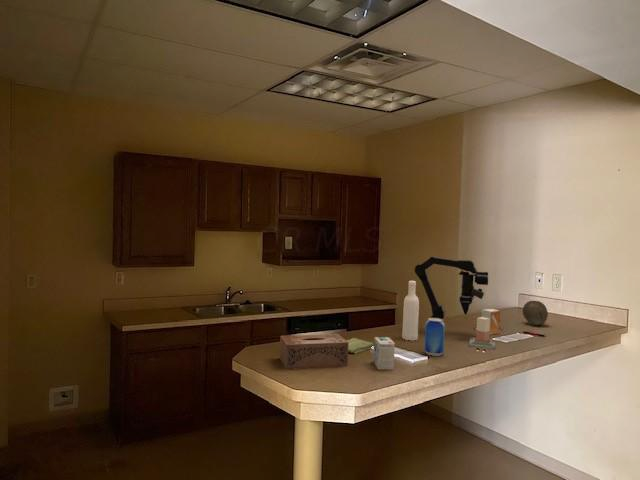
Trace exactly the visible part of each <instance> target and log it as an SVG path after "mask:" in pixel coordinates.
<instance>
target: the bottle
mask: <svg viewBox="0 0 640 480" xmlns="http://www.w3.org/2000/svg"><path fill="white" fill-rule="evenodd" d="M407 285H408V289H407V290H408V293H407V295H406V296H405V297H404V300H403V312H402V313H403V315H402V333H401V336H402V338H401V339H402V340H404V339H405V341H408V340H410V341H409V342H415V340H416V341H418V338H419V337H418V336H419V312H420V309H419V308H420V300H419V297H418V296H417V294H416V287H417V281H415V280H409V281H408V284H407Z"/></svg>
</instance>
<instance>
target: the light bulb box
mask: <svg viewBox="0 0 640 480" xmlns="http://www.w3.org/2000/svg"><path fill="white" fill-rule="evenodd" d="M373 344H374V346H373V359H372V360H373V361H372V362H373V363H374V365H375V367H376V368H377V370H385V369H386V370H394V369H395V367H394V366H395V348H396V347H395V346H396V344H395V342H394V341H393V340H392V339H391V337H388V336H385V337H383V336H380V337H379V336H375V337H374V340H373ZM386 370H385V371H386Z"/></svg>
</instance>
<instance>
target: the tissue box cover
mask: <svg viewBox="0 0 640 480" xmlns="http://www.w3.org/2000/svg"><path fill="white" fill-rule="evenodd" d="M279 339H280V340H279V341H280V342H279V359H280V361H281V363H282V365H283V364H284V365H283V367H284V368H285V369H286V370H291V369H290V368H297V369H311V368H310V367H316V368H331V367H333V368H335V367H348V366H349V364H348V363H349V362H348V361H349V352H348V342H347V341H346V339H345V338H343V337H342V336H341V334H339V333H329V334H327V333H326V334H325V333H324V334H295V335H294V334H292V335H280V337H279Z"/></svg>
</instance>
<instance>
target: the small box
mask: <svg viewBox="0 0 640 480" xmlns="http://www.w3.org/2000/svg"><path fill="white" fill-rule="evenodd" d="M500 315H501V311H500V310H498V309H492V308H488V309H487V308H486V309H481V316H480V317H485V318H490V326H489V336H491V335H498V334H500V333H499V332H500V323H499V318H500ZM500 319H501V318H500Z"/></svg>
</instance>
